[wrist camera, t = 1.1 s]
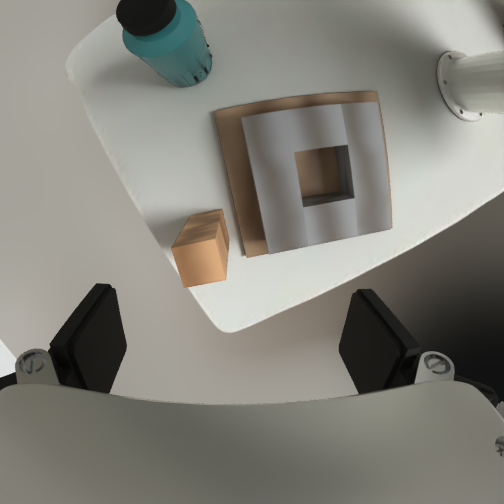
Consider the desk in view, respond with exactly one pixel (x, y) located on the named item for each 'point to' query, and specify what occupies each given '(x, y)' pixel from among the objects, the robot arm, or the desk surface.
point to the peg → (202, 249)
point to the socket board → (306, 169)
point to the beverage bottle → (166, 38)
